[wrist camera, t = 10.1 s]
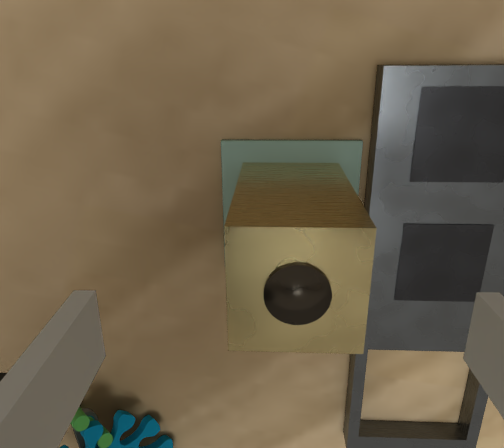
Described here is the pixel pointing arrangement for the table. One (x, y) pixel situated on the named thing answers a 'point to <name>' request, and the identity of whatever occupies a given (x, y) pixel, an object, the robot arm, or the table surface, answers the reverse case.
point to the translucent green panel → (286, 158)
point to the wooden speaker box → (297, 260)
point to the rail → (431, 231)
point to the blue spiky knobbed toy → (115, 431)
